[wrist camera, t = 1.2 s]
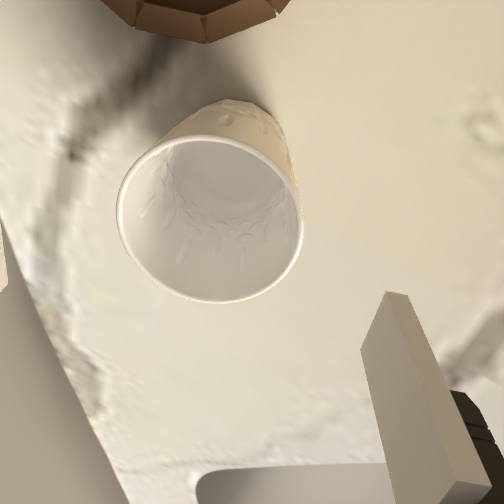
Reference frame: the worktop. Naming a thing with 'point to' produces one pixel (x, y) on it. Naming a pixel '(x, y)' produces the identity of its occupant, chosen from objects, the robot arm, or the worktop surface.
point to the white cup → (214, 206)
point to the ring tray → (195, 16)
